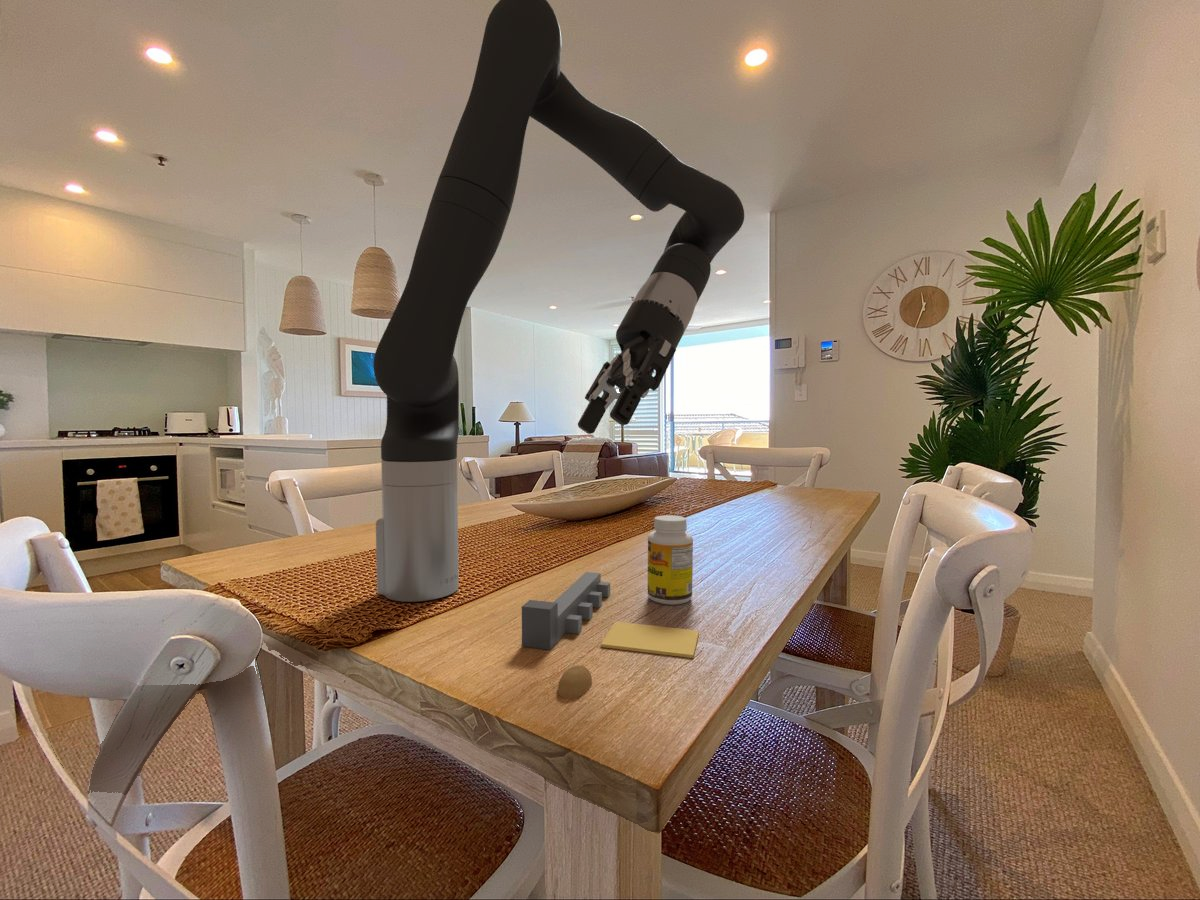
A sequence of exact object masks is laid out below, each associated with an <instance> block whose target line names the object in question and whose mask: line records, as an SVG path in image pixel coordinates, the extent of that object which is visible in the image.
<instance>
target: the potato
mask: <svg viewBox="0 0 1200 900" xmlns="http://www.w3.org/2000/svg"><path fill="white" fill-rule="evenodd" d="M592 685H593V678H592V674H591V672H590V670H589V668H587V667H586V666H585V665H582V664H581V665H579V664H577V665H573V666H571V667H569V668H568V669H566V670H565V671H564V672H563V674H562V675H561V677H560V679H559V681H558V685H557V686H558V687H557V689H556V690H557V694H558V695H559V697H561V698H563V699H575V698H579V697H581V696H583V695H585V694H587V692H588V691H589V690H590V688H591V687H592Z"/></svg>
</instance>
